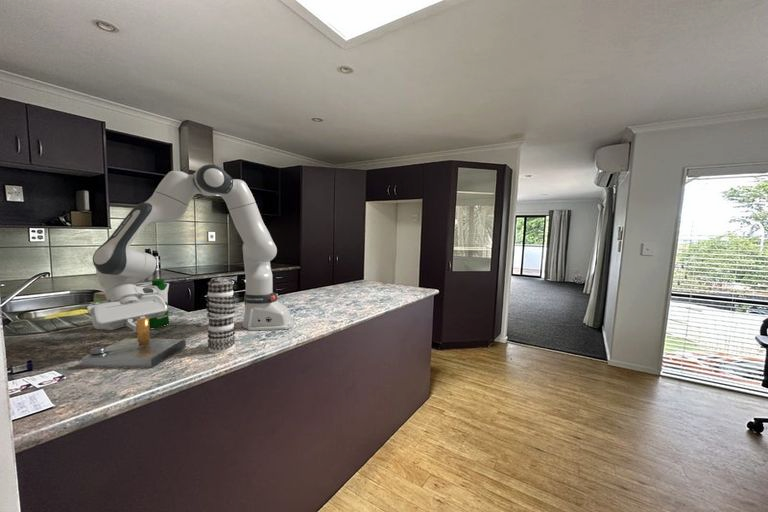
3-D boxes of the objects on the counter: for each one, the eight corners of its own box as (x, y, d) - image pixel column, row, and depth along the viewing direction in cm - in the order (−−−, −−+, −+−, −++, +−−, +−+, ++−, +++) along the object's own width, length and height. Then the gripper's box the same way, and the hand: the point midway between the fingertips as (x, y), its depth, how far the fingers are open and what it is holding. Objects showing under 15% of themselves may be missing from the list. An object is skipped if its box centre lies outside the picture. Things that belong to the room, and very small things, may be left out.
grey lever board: (185, 347, 108) (185, 338, 108) (152, 368, 92) (152, 357, 92) (125, 346, 107) (125, 337, 107) (82, 367, 91) (81, 356, 91)
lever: (90, 356, 91) (89, 328, 90) (89, 352, 93) (88, 325, 93) (150, 344, 101) (150, 319, 101) (148, 341, 104) (147, 316, 103)
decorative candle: (202, 353, 103) (200, 280, 101) (212, 343, 112) (211, 276, 110) (231, 352, 105) (230, 280, 103) (239, 342, 114) (238, 276, 112)
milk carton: (155, 330, 125) (153, 281, 124) (136, 328, 126) (134, 280, 125) (173, 323, 134) (171, 278, 132) (154, 322, 135) (153, 277, 133)
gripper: (87, 298, 95) (103, 334, 92) (160, 287, 113) (176, 318, 110) (82, 309, 98) (97, 345, 94) (154, 298, 116) (169, 327, 112)
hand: (140, 330), depth 102 cm, fingers closed, pressing on lever
